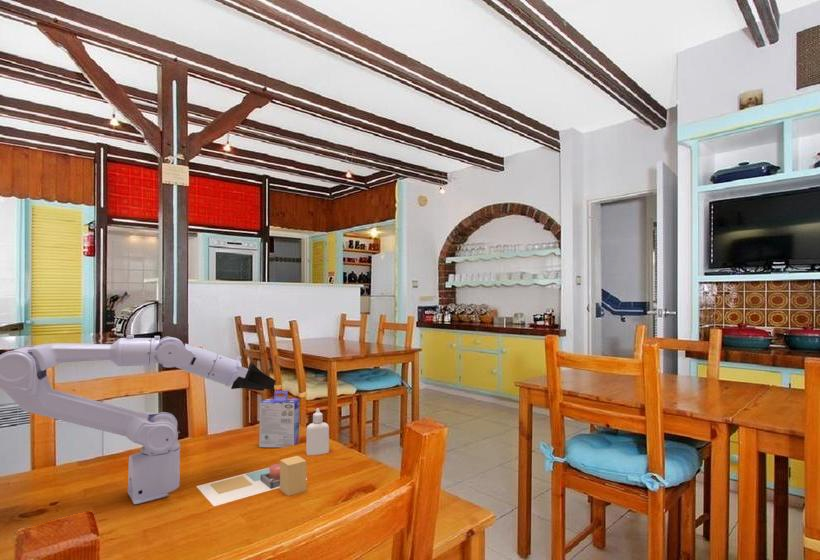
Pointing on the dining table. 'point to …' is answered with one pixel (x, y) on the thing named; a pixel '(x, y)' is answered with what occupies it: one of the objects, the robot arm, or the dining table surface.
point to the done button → (274, 471)
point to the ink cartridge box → (279, 421)
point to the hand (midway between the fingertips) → (269, 385)
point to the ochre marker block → (293, 475)
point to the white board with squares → (239, 487)
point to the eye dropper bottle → (317, 435)
